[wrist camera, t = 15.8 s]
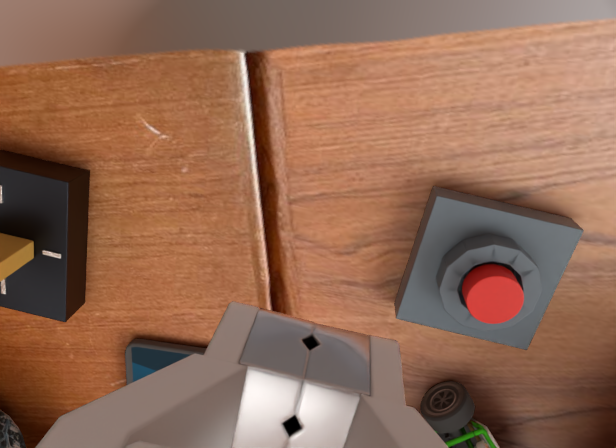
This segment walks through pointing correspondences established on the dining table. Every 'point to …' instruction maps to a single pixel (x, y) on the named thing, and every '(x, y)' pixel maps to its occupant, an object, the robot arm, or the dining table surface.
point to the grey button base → (483, 263)
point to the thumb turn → (14, 254)
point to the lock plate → (45, 234)
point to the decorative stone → (10, 433)
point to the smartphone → (153, 357)
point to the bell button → (492, 294)
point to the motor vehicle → (455, 417)
